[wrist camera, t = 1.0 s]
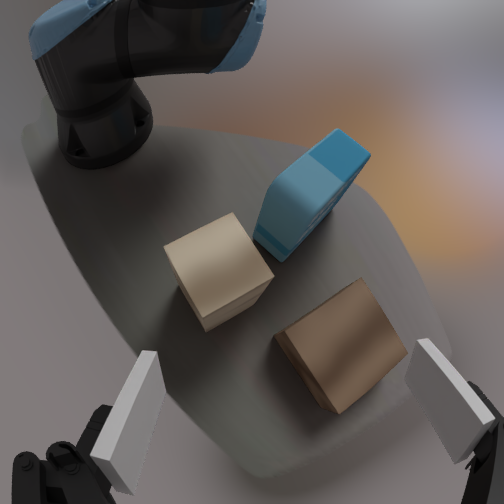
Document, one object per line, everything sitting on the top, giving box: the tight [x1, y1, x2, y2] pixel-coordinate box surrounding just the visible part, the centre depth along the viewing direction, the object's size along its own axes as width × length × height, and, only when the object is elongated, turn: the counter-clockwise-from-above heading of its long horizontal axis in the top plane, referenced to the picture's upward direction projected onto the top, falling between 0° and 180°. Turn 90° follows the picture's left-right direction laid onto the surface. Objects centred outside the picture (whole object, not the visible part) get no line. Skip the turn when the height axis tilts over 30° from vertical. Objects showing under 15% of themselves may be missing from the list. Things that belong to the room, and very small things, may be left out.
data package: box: [253, 129, 371, 262], centre depth 30 cm, size 12×4×12 cm, turn 137°
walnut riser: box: [274, 277, 408, 414], centre depth 28 cm, size 10×10×5 cm
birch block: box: [164, 212, 274, 332], centre depth 26 cm, size 6×6×11 cm
